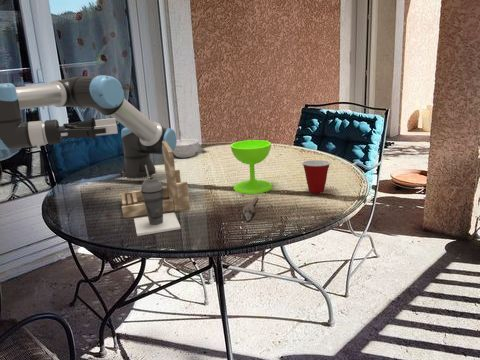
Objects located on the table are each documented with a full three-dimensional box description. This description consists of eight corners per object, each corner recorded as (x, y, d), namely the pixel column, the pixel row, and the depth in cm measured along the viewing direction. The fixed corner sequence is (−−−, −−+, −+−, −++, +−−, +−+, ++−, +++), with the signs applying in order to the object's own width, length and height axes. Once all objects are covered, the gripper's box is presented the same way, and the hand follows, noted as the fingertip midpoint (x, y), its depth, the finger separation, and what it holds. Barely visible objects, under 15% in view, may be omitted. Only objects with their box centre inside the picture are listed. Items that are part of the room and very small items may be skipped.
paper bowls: (198, 158, 239) (196, 143, 237) (169, 160, 240) (167, 145, 238) (200, 151, 254) (199, 137, 252) (173, 153, 254) (172, 139, 252)
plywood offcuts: (124, 215, 164) (122, 203, 163) (122, 205, 176) (121, 193, 174) (138, 213, 166) (137, 201, 164) (136, 202, 177) (135, 191, 176)
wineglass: (260, 196, 176) (258, 150, 171) (225, 191, 184) (222, 147, 179) (279, 184, 189) (278, 141, 183) (246, 180, 197) (244, 139, 192)
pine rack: (123, 219, 161) (114, 158, 154) (121, 201, 179) (113, 147, 173) (190, 209, 167) (184, 150, 160) (181, 193, 185) (175, 139, 179)
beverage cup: (162, 226, 150) (155, 167, 144) (141, 226, 151) (133, 168, 145) (170, 218, 157) (163, 161, 151) (150, 218, 158) (142, 162, 152)
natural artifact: (244, 226, 152) (236, 217, 151) (256, 200, 173) (249, 192, 172) (252, 220, 151) (245, 211, 150) (264, 195, 171) (257, 187, 171)
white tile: (137, 236, 146) (136, 233, 146) (134, 220, 159) (133, 218, 158) (180, 228, 149) (180, 226, 149) (174, 214, 162) (174, 212, 162)
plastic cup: (332, 187, 180) (332, 158, 177) (328, 196, 170) (328, 165, 167) (305, 186, 184) (304, 157, 180) (299, 195, 174) (299, 164, 171)
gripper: (52, 137, 154) (116, 130, 159) (43, 153, 131) (119, 144, 136) (48, 115, 152) (113, 108, 157) (38, 127, 129) (115, 119, 134)
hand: (116, 125), depth 147 cm, fingers open, 13 cm apart
